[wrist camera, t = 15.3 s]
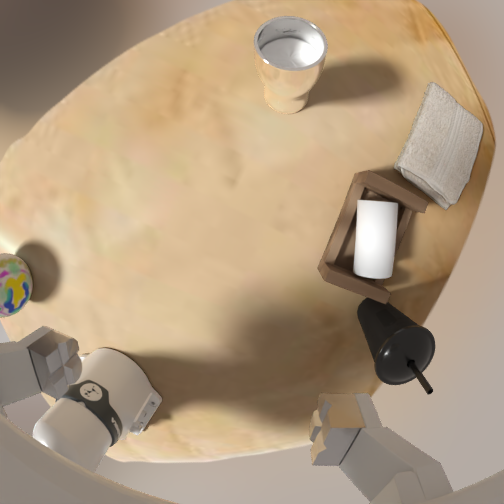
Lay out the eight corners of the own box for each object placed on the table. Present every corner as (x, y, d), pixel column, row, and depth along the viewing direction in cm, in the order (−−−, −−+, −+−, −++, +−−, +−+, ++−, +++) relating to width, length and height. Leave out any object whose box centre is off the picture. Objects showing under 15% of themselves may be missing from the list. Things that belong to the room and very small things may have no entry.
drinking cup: (339, 325, 40) (378, 417, 20) (361, 279, 38) (424, 350, 19) (380, 338, 40) (432, 422, 20) (402, 295, 38) (474, 363, 19)
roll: (394, 271, 34) (388, 281, 30) (359, 265, 37) (347, 274, 33) (400, 202, 32) (395, 202, 28) (363, 199, 35) (352, 199, 31)
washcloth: (388, 172, 35) (397, 170, 32) (425, 81, 31) (433, 75, 28) (445, 213, 35) (456, 215, 32) (476, 124, 32) (486, 121, 29)
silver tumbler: (253, 81, 34) (240, 25, 19) (299, 67, 33) (310, 8, 18) (271, 123, 35) (268, 82, 20) (319, 109, 34) (343, 63, 19)
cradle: (371, 289, 38) (385, 304, 32) (317, 267, 38) (324, 280, 32) (408, 200, 35) (428, 202, 29) (354, 173, 35) (368, 170, 29)
